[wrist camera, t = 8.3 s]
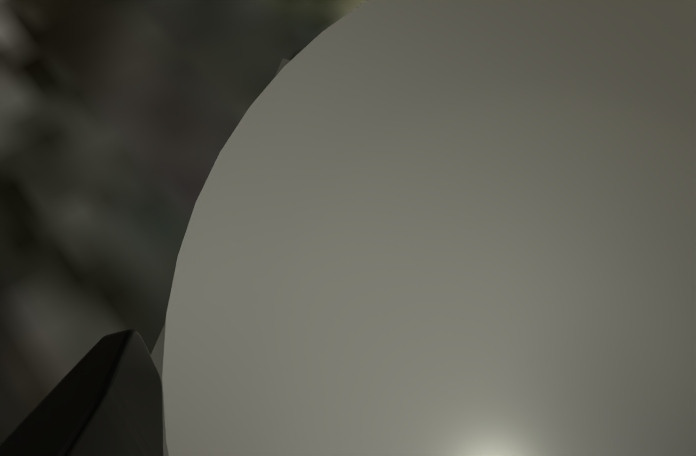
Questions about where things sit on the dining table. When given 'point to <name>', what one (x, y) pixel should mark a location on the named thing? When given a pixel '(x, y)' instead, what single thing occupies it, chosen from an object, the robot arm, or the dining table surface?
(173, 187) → the dining table surface
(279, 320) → the cream bottle
